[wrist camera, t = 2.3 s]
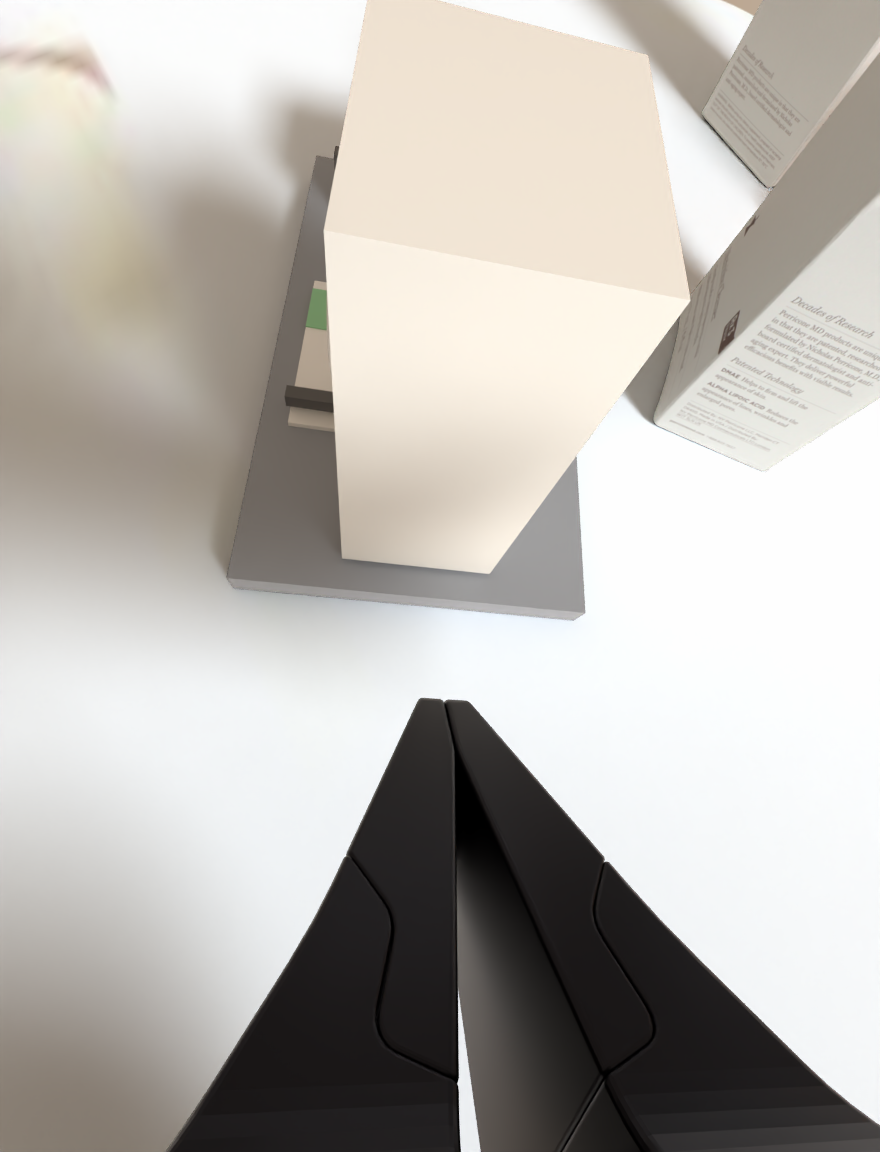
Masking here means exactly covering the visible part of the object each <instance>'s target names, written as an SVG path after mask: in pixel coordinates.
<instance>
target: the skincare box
mask: <svg viewBox="0 0 880 1152" xmlns="http://www.w3.org/2000/svg"><path fill="white" fill-rule="evenodd" d="M690 299H691V301H690V302H689V304H688V305H687V306H686V308H685V309H684V310H683V312H682V313H681V314H680V321H679V328H678V333H677V337H676V342H675V346H674V351H673V355H672V358H671V362H670V366H669V370H668V374H667V377H666V381H665V384H664V387H663V390H662V393H661V397H660V400H659V403H658V405H657V408H656V410H655V414H654V418H653V420H654V422H655V424H656V425H657V426H659V427H662V428H664V429H666V430H668V431H670V432H673V433H675V434H677V435H679V436H682V437H684V438H686V439H689V440H691V441H693V442H696V443H698V444H700V445H702V446H705V447H707V448H709V449H711V450H714V451H716V452H718V453H720V454H723V455H725V456H727V457H729V458H731V459H734V460H736V461H738V462H741V463H743V464H746V465H748V466H750V467H752V468H755V469H757V470H760V471H763V472H765V471H768V470H769V469H770V468H771V467H773V466H774V465H776V464H777V463H779V462H780V461H782V460H783V459H785V458H787V457H788V456H790V455H791V454H793V453H794V452H796V451H798V450H799V449H801V448H802V447H804V446H805V445H807V444H809V443H810V442H812V441H813V440H815V439H816V438H818V437H820V436H821V435H823V434H824V433H826V432H827V431H828V430H830V429H832V428H833V427H835V426H836V425H838V424H840V423H841V422H843V421H844V420H846V419H847V418H849V417H851V416H852V415H854V414H855V413H857V412H858V411H860V410H862V409H863V408H865V407H866V406H868V405H869V404H871V403H873V402H874V401H876V400H877V399H879V398H880V53H879V54H878V55H877V56H876V58H875V59H874V60H873V61H872V63H871V64H870V65H869V67H868V68H867V69H866V70H865V72H864V73H863V74H862V76H861V77H860V78H859V79H858V81H857V82H856V83H855V85H854V86H853V87H852V88H851V90H850V91H849V92H848V93H847V95H846V96H845V97H844V99H843V100H842V101H841V102H840V104H839V105H838V106H837V107H836V109H835V110H834V111H833V113H832V114H831V115H830V116H829V118H828V119H827V120H826V122H825V123H824V124H823V125H822V127H821V128H820V129H819V131H818V132H817V133H816V134H815V136H814V137H813V138H812V139H811V141H810V142H809V143H808V145H807V146H806V147H805V148H804V150H803V151H802V152H801V153H800V155H799V156H798V157H797V159H796V160H795V161H794V162H793V164H792V165H791V166H790V167H789V169H788V170H787V171H786V173H785V174H784V175H783V177H782V178H781V179H780V181H779V182H778V183H777V184H776V186H775V187H774V188H773V190H772V191H771V192H770V194H769V195H768V196H767V197H766V199H765V200H764V201H763V203H762V204H761V205H760V207H759V208H758V209H757V211H756V212H755V213H754V215H753V216H752V217H751V218H750V220H749V221H748V222H747V223H746V224H745V226H744V227H743V229H742V230H741V231H740V232H739V234H738V235H737V236H736V237H735V239H734V240H733V241H732V243H731V244H730V245H729V246H728V248H727V249H726V250H725V252H724V253H723V254H722V255H721V257H720V258H719V259H718V260H717V262H716V263H715V264H714V266H713V267H712V268H711V269H710V271H709V272H708V273H707V274H706V276H705V277H704V278H703V280H702V281H701V282H700V283H699V285H698V286H697V287H696V289H695V290H694V291H693V292H692V294H691V295H690Z"/></svg>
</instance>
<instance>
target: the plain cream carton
mask: <svg viewBox="0 0 880 1152" xmlns="http://www.w3.org/2000/svg"><path fill="white" fill-rule="evenodd" d="M334 172H335V173H334V179H333V184H332V189H331V194H330V200H329V205H328V210H327V215H326V221H325V226H324V244H325V262H326V280H327V348H328V360H329V367H330V372H331V375H332V388H333V392H331V391H324V390H317V389H311V388H304V387H297V386H291V385H287V386H286V391H285V396H284V397H285V402H286V406H291V407H298V408H304V409H311V410H318V411H325V412H332V413H334V424H335V442H336V460H337V478H338V496H339V514H340V532H341V550H342V559H352V560H361V561H371V562H380V563H389V564H399V565H408V566H418V567H427V568H437V569H446V570H456V571H465V572H475V573H484V574H490V573H491V571H492V570H493V569H494V567H495V566H496V565H497V563H498V562H499V561H500V559H501V558H502V556H503V555H504V554H505V552H506V551H507V550H508V548H509V547H510V546H511V544H512V543H513V541H514V540H515V539H516V537H517V536H518V535H519V533H520V532H521V531H522V529H523V528H524V527H525V525H526V524H527V522H528V521H529V520H530V518H531V517H532V516H533V514H534V513H535V512H536V510H537V509H538V507H539V506H540V505H541V503H542V502H543V501H544V499H545V498H546V497H547V495H548V494H549V493H550V491H551V490H552V488H553V487H554V486H555V484H556V483H557V482H558V480H559V479H560V478H561V476H562V475H563V473H564V472H565V471H566V469H567V468H568V467H569V465H570V464H571V463H572V461H573V460H574V459H575V457H576V456H577V454H578V453H579V452H580V450H581V449H582V448H583V446H584V445H585V444H586V442H587V441H588V439H589V438H590V437H591V435H592V434H593V433H594V431H595V430H596V429H597V427H598V426H599V425H600V423H601V422H602V420H603V419H604V418H605V416H606V415H607V414H608V412H609V411H610V410H611V408H612V407H613V406H614V404H615V403H616V401H617V400H618V399H619V397H620V396H621V395H622V393H623V392H624V391H625V389H626V388H627V386H628V385H629V384H630V382H631V381H632V380H633V378H634V377H635V376H636V374H637V373H638V372H639V370H640V369H641V367H642V366H643V365H644V363H645V362H646V361H647V359H648V358H649V357H650V355H651V354H652V352H653V351H654V350H655V348H656V347H657V346H658V344H659V343H660V342H661V340H662V339H663V338H664V336H665V335H666V333H667V332H668V331H669V329H670V328H671V327H672V325H673V324H674V323H675V321H676V320H677V318H678V317H679V316H680V314H681V313H682V312H683V310H684V309H685V308H686V306H687V305H688V304H689V302H690V301H691V299H690V293H689V288H688V282H687V276H686V270H685V265H684V259H683V253H682V247H681V242H680V236H679V230H678V224H677V219H676V213H675V207H674V201H673V196H672V190H671V184H670V178H669V173H668V167H667V161H666V155H665V150H664V144H663V138H662V132H661V127H660V121H659V115H658V109H657V104H656V98H655V92H654V86H653V81H652V75H651V69H650V63H649V57H648V55H645V54H641V53H638V52H634V51H630V50H626V49H622V48H618V47H615V46H611V45H607V44H603V43H599V42H595V41H592V40H588V39H584V38H580V37H576V36H572V35H569V34H565V33H561V32H557V31H553V30H549V29H546V28H542V27H538V26H534V25H530V24H526V23H522V22H519V21H515V20H511V19H507V18H503V17H499V16H496V15H492V14H488V13H484V12H480V11H476V10H473V9H469V8H465V7H461V6H457V5H453V4H450V3H446V2H442V1H438V0H367V5H366V10H365V15H364V20H363V26H362V31H361V36H360V42H359V47H358V52H357V57H356V63H355V68H354V73H353V78H352V84H351V89H350V94H349V99H348V105H347V110H346V115H345V121H344V126H343V131H342V136H341V142H340V147H338V146H336V147H335V152H334Z"/></svg>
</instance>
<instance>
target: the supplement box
mask: <svg viewBox="0 0 880 1152" xmlns="http://www.w3.org/2000/svg"><path fill="white" fill-rule="evenodd" d="M879 53H880V0H763V1H762V3H761V5H760V6H759V8H758V10H757V12H756V14H755V16H754V17H753V19H752V21H751V23H750V25H749V27H748V29H747V30H746V32H745V34H744V36H743V38H742V40H741V41H740V43H739V45H738V47H737V49H736V51H735V52H734V54H733V56H732V58H731V60H730V61H729V63H728V65H727V67H726V69H725V71H724V72H723V74H722V76H721V78H720V80H719V82H718V84H717V85H716V87H715V89H714V91H713V93H712V95H711V96H710V98H709V100H708V102H707V104H706V106H705V107H704V109H703V111H702V115H703V116H704V118H705V119H706V120H707V121H708V122H709V124H710V125H711V126H712V127H713V128H714V129H715V131H716V132H717V133H718V134H719V135H720V136H721V137H722V138H723V140H724V141H725V142H726V143H727V144H728V145H729V146H730V147H731V148H732V150H733V151H734V152H735V153H736V154H737V155H738V157H739V158H740V159H741V160H742V161H743V162H744V163H745V164H746V165H747V166H748V167H749V168H750V170H751V171H752V172H753V173H754V174H755V175H756V177H757V178H758V179H759V180H760V181H761V182H762V183H763V184H764V185H765V186H766V187H768V188H770V187H773V186H776V184H777V183H778V182H779V181H780V179H781V178H782V177H783V175H784V174H785V173H786V171H787V170H788V169H789V167H790V166H791V165H792V164H793V162H794V161H795V160H796V159H797V157H798V156H799V155H800V153H801V152H802V151H803V150H804V148H805V147H806V146H807V145H808V143H809V142H810V141H811V139H812V138H813V137H814V136H815V134H816V133H817V132H818V131H819V129H820V128H821V127H822V125H823V124H824V123H825V122H826V120H827V119H828V118H829V116H830V115H831V114H832V113H833V111H834V110H835V109H836V107H837V106H838V105H839V104H840V102H841V101H842V100H843V99H844V97H845V96H846V95H847V93H848V92H849V91H850V90H851V88H852V87H853V86H854V85H855V83H856V82H857V81H858V79H859V78H860V77H861V76H862V74H863V73H864V72H865V70H866V69H867V68H868V67H869V65H870V64H871V63H872V61H873V60H874V59H875V58H876V56H877V55H878V54H879Z"/></svg>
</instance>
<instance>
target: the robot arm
mask: <svg viewBox="0 0 880 1152" xmlns="http://www.w3.org/2000/svg"><path fill="white" fill-rule="evenodd" d="M604 860H605V859H604V856H603V855H602V854H601V853H600V852H599V850H598V849H597V848H596V847H595V846H594V845H593V844H592V842H591V841H590V840H589V839H588V838H587V837H586V835H585V834H584V833H583V832H582V831H581V830H580V829H579V827H578V826H577V825H576V824H575V823H574V822H573V821H572V819H571V818H570V817H569V816H568V815H567V814H566V812H565V811H564V810H563V809H562V808H561V807H560V806H559V804H558V803H557V802H556V801H555V800H554V799H553V797H552V796H551V795H550V794H549V793H548V792H547V791H546V789H545V788H544V787H543V786H542V785H541V784H540V783H539V781H538V780H537V779H536V778H535V777H534V776H533V774H532V773H531V772H530V771H529V770H528V769H527V768H526V766H525V765H524V764H523V763H522V762H521V761H520V760H519V758H518V757H517V756H516V755H515V754H514V753H513V751H512V750H511V749H510V748H509V747H508V746H507V745H506V743H505V742H504V741H503V740H502V739H501V738H500V737H499V735H498V734H497V733H496V732H495V731H494V730H493V728H492V727H491V726H490V725H489V724H488V723H487V722H486V720H485V719H484V718H483V717H482V716H481V715H480V714H479V712H478V711H477V710H476V709H475V708H474V707H473V705H472V704H471V703H470V702H468V701H463V700H446V701H445V702H443V701H442V700H441V699H432V698H420V699H419V700H418V702H417V704H416V706H415V708H414V710H413V712H412V714H411V716H410V719H409V721H408V723H407V725H406V727H405V729H404V731H403V734H402V736H401V738H400V740H399V742H398V744H397V746H396V749H395V751H394V753H393V755H392V757H391V759H390V761H389V763H388V766H387V768H386V770H385V772H384V774H383V776H382V778H381V781H380V783H379V785H378V787H377V789H376V791H375V793H374V796H373V798H372V800H371V802H370V804H369V806H368V808H367V810H366V813H365V815H364V817H363V819H362V821H361V823H360V825H359V828H358V830H357V832H356V834H355V836H354V838H353V840H352V842H351V845H350V847H349V849H348V851H347V854H346V857H344V859H343V861H342V863H341V865H340V867H339V869H338V872H337V874H336V876H335V878H334V880H333V882H332V884H331V886H330V888H329V890H328V892H327V894H326V896H325V898H324V900H323V902H322V904H321V906H320V908H319V909H318V911H317V913H316V915H315V917H314V919H313V921H312V923H311V925H310V926H309V928H308V930H307V931H306V933H305V935H304V936H303V938H302V940H301V941H300V943H299V945H298V947H297V948H296V950H295V952H294V953H293V955H292V957H291V958H290V960H289V962H288V964H287V965H286V967H285V968H284V970H283V972H282V973H281V975H280V976H279V978H278V980H277V981H276V983H275V984H274V986H273V987H272V989H271V991H270V992H269V994H268V995H267V997H266V999H265V1000H264V1002H263V1003H262V1005H261V1006H260V1008H259V1010H258V1011H257V1013H256V1014H255V1016H254V1018H253V1019H252V1021H251V1022H250V1024H249V1025H248V1027H247V1029H246V1030H245V1032H244V1033H243V1035H242V1036H241V1038H240V1040H239V1041H238V1043H237V1044H236V1046H235V1048H234V1049H233V1051H232V1052H231V1054H230V1055H229V1057H228V1059H227V1060H226V1062H225V1063H224V1065H223V1067H222V1068H221V1070H220V1071H219V1073H218V1074H217V1076H216V1078H215V1079H214V1081H213V1082H212V1084H211V1086H210V1087H209V1089H208V1090H207V1092H206V1093H205V1095H204V1096H203V1098H202V1099H201V1101H200V1102H199V1104H198V1105H197V1107H196V1108H195V1110H194V1111H193V1113H192V1114H191V1116H190V1117H189V1119H188V1120H187V1122H186V1123H185V1125H184V1126H183V1128H182V1129H181V1130H180V1132H179V1133H178V1135H177V1136H176V1138H175V1139H174V1141H173V1142H172V1143H171V1145H170V1146H169V1148H168V1149H167V1150H166V1152H461V1147H460V1128H459V1090H458V1085H457V1082H458V1078H459V1063H458V991H459V998H460V1005H461V1013H462V1020H463V1027H464V1034H465V1041H466V1048H467V1056H468V1063H469V1070H470V1077H471V1084H472V1092H473V1099H474V1106H475V1113H476V1120H477V1127H478V1135H479V1142H480V1149H481V1152H880V1125H879V1124H877V1123H876V1122H874V1121H873V1120H872V1119H870V1118H869V1117H868V1116H866V1115H865V1114H864V1113H862V1112H861V1111H860V1110H858V1109H857V1108H855V1107H854V1106H853V1105H851V1104H850V1103H849V1102H848V1101H847V1100H845V1099H844V1098H843V1097H842V1096H841V1095H839V1094H838V1093H837V1092H836V1091H835V1090H833V1089H832V1088H831V1087H830V1086H829V1085H828V1084H826V1083H825V1082H824V1081H823V1080H822V1079H821V1078H820V1077H819V1076H818V1075H817V1074H816V1073H815V1072H814V1071H813V1070H811V1069H810V1068H809V1067H808V1066H807V1065H806V1064H805V1063H804V1062H803V1061H802V1060H801V1059H800V1058H799V1057H798V1056H797V1055H796V1054H795V1053H794V1052H793V1051H792V1050H791V1049H790V1048H789V1047H788V1046H787V1045H786V1044H785V1043H784V1042H783V1041H782V1040H781V1039H780V1038H779V1037H778V1036H777V1035H776V1034H775V1033H774V1032H773V1031H772V1030H771V1029H770V1028H768V1027H767V1026H766V1025H765V1024H764V1023H763V1022H762V1021H761V1020H760V1019H759V1018H758V1017H757V1016H756V1015H755V1014H754V1013H753V1012H752V1011H751V1010H750V1009H749V1008H748V1007H747V1006H746V1005H745V1004H744V1003H743V1002H742V1001H741V1000H740V999H739V998H738V997H737V996H736V995H735V994H734V993H733V992H732V991H731V990H730V989H729V988H728V987H727V986H726V985H725V984H724V983H723V982H722V981H721V980H720V979H719V978H718V977H717V976H716V975H715V974H714V973H713V972H712V971H711V970H710V969H709V968H707V967H706V966H705V965H704V964H703V963H702V962H701V961H700V960H699V959H698V958H697V957H696V956H695V954H694V953H693V952H692V951H691V950H690V949H689V948H688V947H687V946H686V945H685V944H684V943H683V942H682V941H681V940H680V939H679V938H678V937H677V936H676V935H675V934H674V933H673V932H672V931H671V930H670V929H669V928H668V927H667V926H666V925H665V924H664V923H663V922H662V921H661V920H660V919H659V918H658V917H657V915H656V914H655V913H654V912H653V911H652V910H651V909H650V908H649V907H648V906H647V904H646V903H645V902H644V901H643V900H642V899H641V898H640V897H639V896H638V894H637V893H636V892H635V891H634V890H633V889H632V888H631V887H630V886H629V885H628V883H627V882H626V881H625V880H624V879H623V878H622V877H621V875H620V874H619V873H618V872H617V871H616V870H615V869H614V867H613V866H612V865H611V864H610V863H609V862H604Z"/></svg>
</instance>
